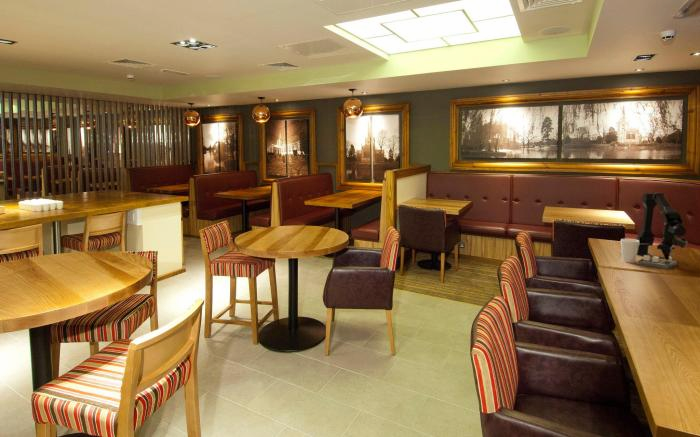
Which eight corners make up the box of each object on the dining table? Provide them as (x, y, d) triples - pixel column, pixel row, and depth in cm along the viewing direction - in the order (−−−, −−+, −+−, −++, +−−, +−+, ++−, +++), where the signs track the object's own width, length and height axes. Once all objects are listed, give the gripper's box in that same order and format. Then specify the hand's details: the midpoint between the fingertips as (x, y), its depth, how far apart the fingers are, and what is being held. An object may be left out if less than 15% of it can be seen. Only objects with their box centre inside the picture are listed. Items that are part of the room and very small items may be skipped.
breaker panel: (646, 259, 262) (646, 256, 262) (676, 264, 251) (676, 260, 250) (637, 264, 252) (637, 261, 252) (668, 269, 241) (668, 265, 240)
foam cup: (632, 259, 263) (634, 238, 261) (641, 263, 254) (643, 241, 252) (616, 259, 264) (617, 238, 262) (624, 263, 255) (625, 241, 253)
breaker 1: (644, 259, 254) (644, 255, 254) (649, 260, 252) (650, 255, 252) (643, 260, 253) (643, 255, 252) (648, 260, 251) (648, 256, 250)
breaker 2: (665, 260, 251) (666, 256, 251) (671, 261, 249) (671, 256, 249) (664, 261, 250) (665, 256, 249) (670, 261, 248) (670, 257, 247)
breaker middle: (653, 260, 251) (653, 256, 250) (658, 261, 249) (659, 257, 249) (652, 261, 249) (652, 257, 249) (657, 262, 247) (658, 257, 247)
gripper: (682, 237, 234) (679, 265, 236) (691, 232, 245) (688, 259, 248) (658, 234, 242) (655, 261, 244) (667, 230, 254) (665, 256, 256)
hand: (666, 259), depth 248 cm, fingers closed
